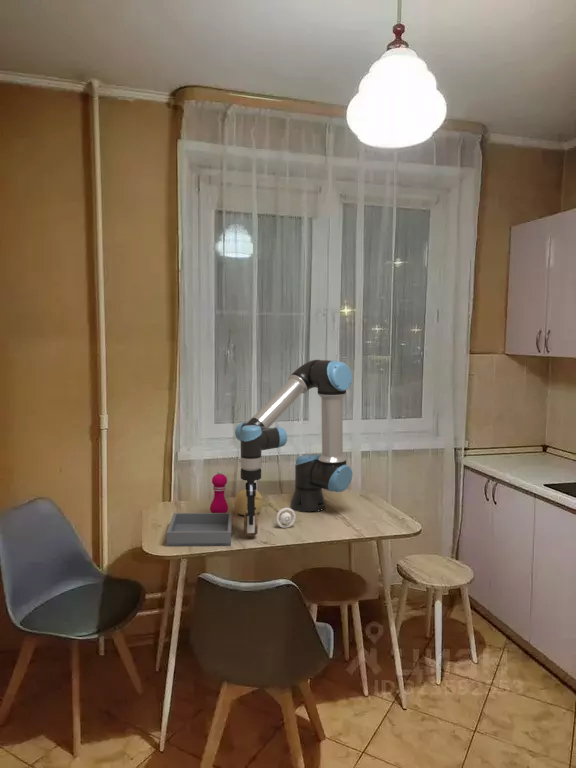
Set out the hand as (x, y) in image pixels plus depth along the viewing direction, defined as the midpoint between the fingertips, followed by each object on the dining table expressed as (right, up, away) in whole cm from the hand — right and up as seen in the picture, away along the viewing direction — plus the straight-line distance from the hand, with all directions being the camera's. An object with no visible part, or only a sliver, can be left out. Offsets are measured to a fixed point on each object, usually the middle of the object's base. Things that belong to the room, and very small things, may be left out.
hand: (250, 530), depth 218 cm
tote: (-19, -2, +1) cm, 19 cm away
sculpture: (-3, -1, +29) cm, 29 cm away
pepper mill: (-14, -1, +21) cm, 25 cm away
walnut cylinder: (0, -1, 0) cm, 1 cm away
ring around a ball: (+13, -2, +13) cm, 18 cm away
